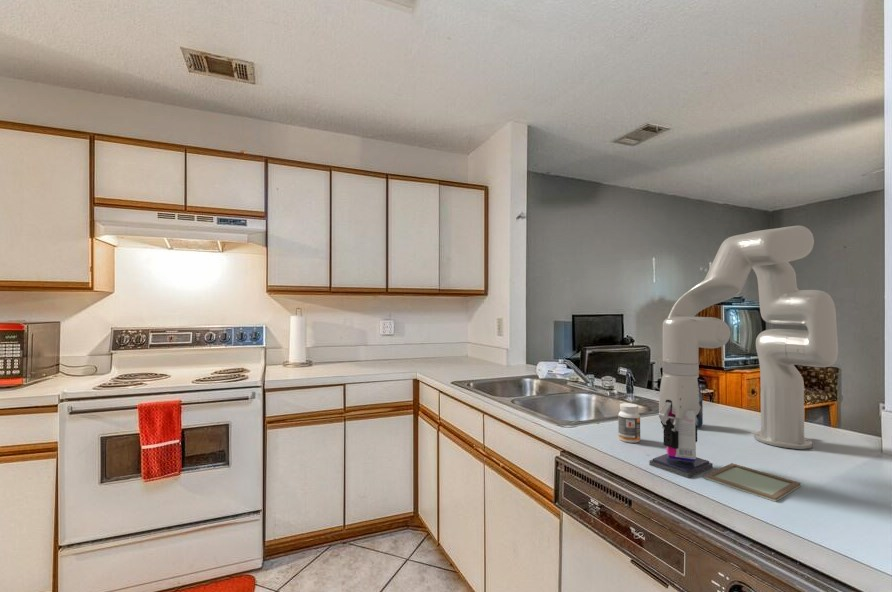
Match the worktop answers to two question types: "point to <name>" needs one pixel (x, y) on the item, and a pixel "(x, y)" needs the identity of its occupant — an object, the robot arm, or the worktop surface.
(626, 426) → the pill bottle
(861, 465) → the worktop surface
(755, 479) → the brown picture frame
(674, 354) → the robot arm
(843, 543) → the worktop surface
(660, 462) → the pad
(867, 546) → the worktop surface
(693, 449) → the supplement box
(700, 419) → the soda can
